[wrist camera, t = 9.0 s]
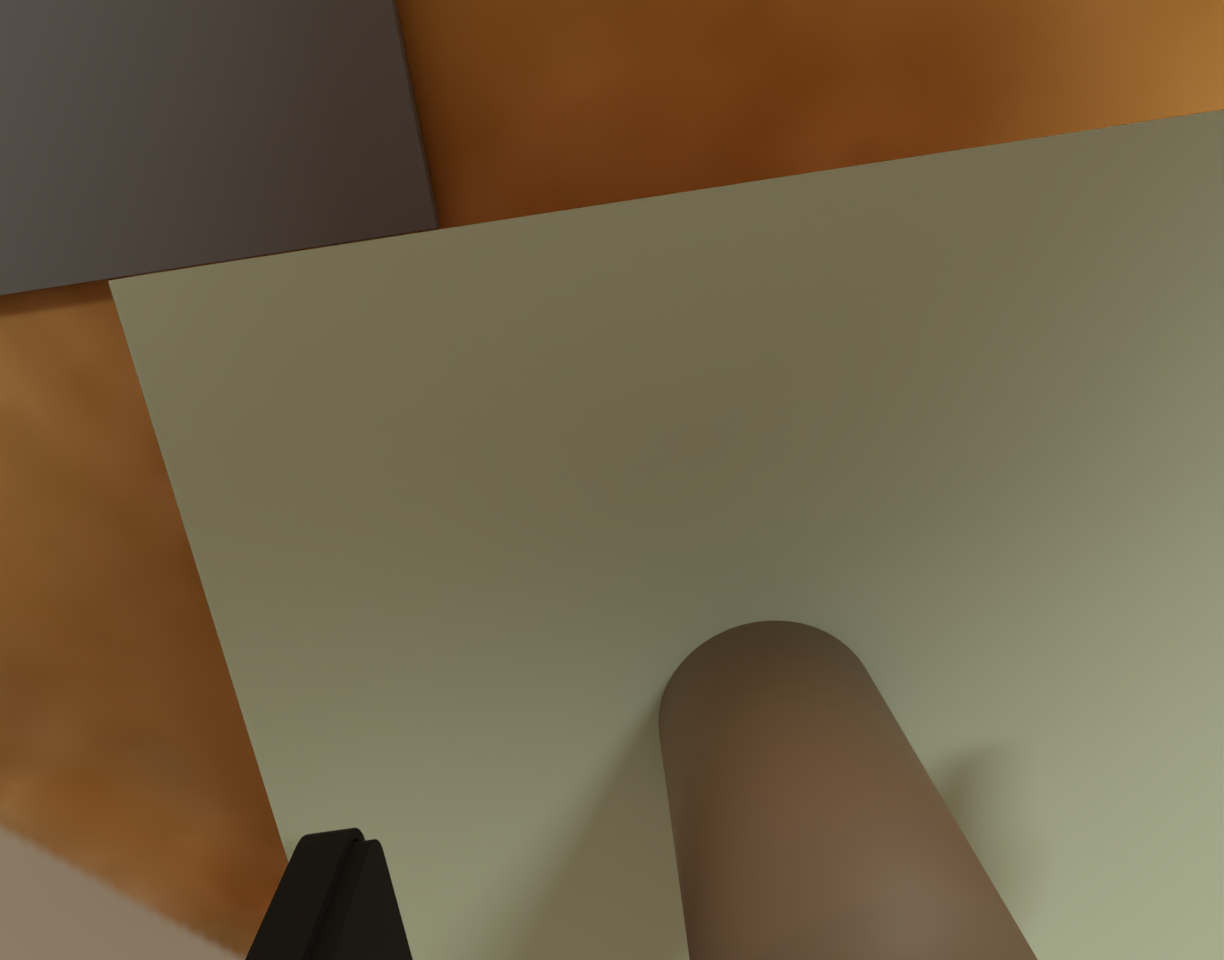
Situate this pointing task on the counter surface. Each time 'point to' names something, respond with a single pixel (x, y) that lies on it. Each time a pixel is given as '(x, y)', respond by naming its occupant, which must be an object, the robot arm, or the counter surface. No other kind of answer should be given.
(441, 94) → the counter surface
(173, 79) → the mat
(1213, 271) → the lid
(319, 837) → the robot arm
